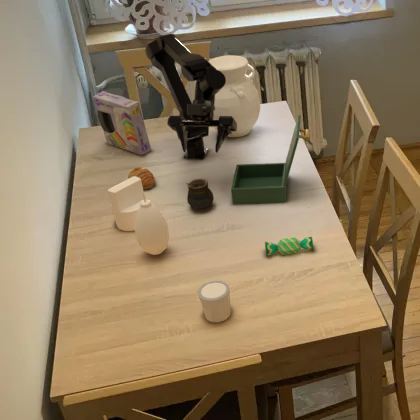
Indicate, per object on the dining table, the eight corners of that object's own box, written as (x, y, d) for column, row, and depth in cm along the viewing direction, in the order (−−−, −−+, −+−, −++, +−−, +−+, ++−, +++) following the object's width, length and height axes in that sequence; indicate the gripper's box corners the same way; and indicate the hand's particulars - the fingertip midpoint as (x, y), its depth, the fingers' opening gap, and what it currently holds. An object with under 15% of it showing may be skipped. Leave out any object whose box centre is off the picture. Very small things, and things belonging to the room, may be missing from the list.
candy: (266, 256, 164) (264, 240, 164) (266, 256, 168) (264, 240, 168) (313, 251, 166) (312, 235, 166) (313, 251, 169) (311, 235, 169)
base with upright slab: (136, 209, 186) (127, 172, 179) (157, 219, 181) (149, 181, 175) (109, 224, 180) (99, 186, 173) (130, 234, 175) (121, 196, 169)
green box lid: (296, 137, 177) (311, 141, 177) (298, 114, 189) (312, 118, 190) (283, 185, 185) (297, 189, 185) (285, 161, 197) (298, 164, 198)
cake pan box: (103, 142, 222) (90, 94, 212) (115, 137, 225) (103, 88, 216) (140, 157, 212) (128, 107, 203) (152, 151, 216) (141, 101, 206)
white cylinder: (204, 304, 151) (199, 281, 147) (234, 302, 151) (230, 279, 147) (200, 325, 145) (195, 301, 141) (232, 323, 145) (228, 299, 142)
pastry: (162, 184, 197) (159, 173, 195) (141, 193, 193) (139, 182, 191) (146, 174, 203) (143, 163, 201) (126, 182, 199) (123, 171, 197)
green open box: (232, 204, 187) (230, 189, 184) (238, 178, 199) (236, 164, 197) (285, 202, 188) (284, 187, 185) (288, 176, 200) (286, 162, 197)
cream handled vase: (257, 116, 237) (249, 49, 224) (267, 138, 222) (260, 67, 209) (205, 124, 232) (194, 56, 219) (212, 147, 218) (201, 75, 204)
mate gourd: (219, 202, 188) (215, 172, 183) (206, 216, 182) (200, 185, 177) (197, 198, 190) (192, 168, 185) (183, 212, 184) (177, 181, 179)
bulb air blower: (160, 264, 164) (147, 203, 154) (134, 258, 166) (119, 198, 157) (178, 246, 170) (166, 187, 160) (153, 241, 172) (139, 182, 163)
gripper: (163, 89, 181) (158, 143, 178) (229, 89, 180) (225, 144, 177) (176, 103, 192) (171, 155, 189) (239, 104, 191) (235, 155, 188)
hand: (200, 152), depth 185 cm, fingers open, 9 cm apart
